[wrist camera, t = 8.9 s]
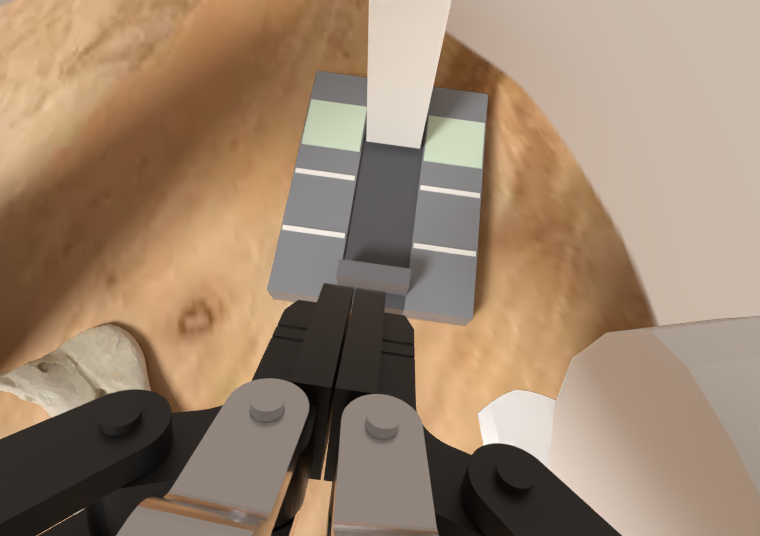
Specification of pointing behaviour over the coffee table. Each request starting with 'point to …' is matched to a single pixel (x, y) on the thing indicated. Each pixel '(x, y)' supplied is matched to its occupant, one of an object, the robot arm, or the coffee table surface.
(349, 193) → the console
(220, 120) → the coffee table surface
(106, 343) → the fossil
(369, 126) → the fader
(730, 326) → the heart sculpture
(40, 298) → the coffee table surface
